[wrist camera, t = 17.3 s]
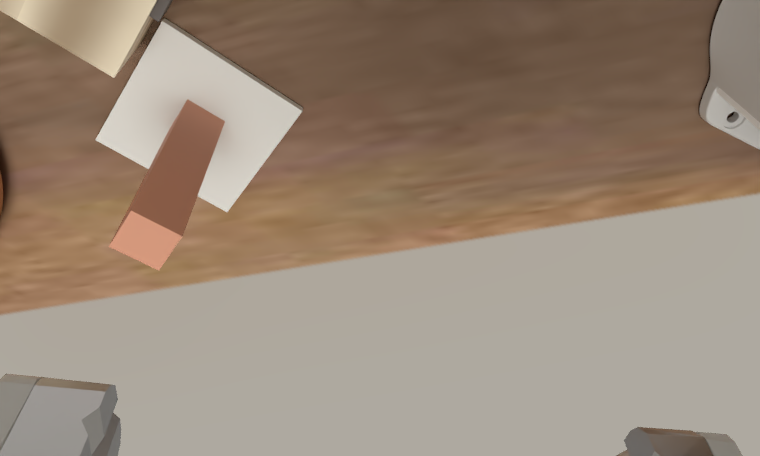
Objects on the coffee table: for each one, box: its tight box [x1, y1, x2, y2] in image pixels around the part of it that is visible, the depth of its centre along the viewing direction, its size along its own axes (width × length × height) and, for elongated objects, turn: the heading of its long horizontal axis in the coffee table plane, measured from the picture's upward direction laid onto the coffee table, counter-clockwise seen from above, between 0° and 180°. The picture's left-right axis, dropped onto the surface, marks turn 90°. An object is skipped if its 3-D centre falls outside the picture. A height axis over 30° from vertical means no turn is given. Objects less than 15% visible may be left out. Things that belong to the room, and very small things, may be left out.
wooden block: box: [109, 99, 225, 270], centre depth 42 cm, size 3×3×14 cm
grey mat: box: [96, 18, 303, 212], centre depth 47 cm, size 11×11×1 cm
